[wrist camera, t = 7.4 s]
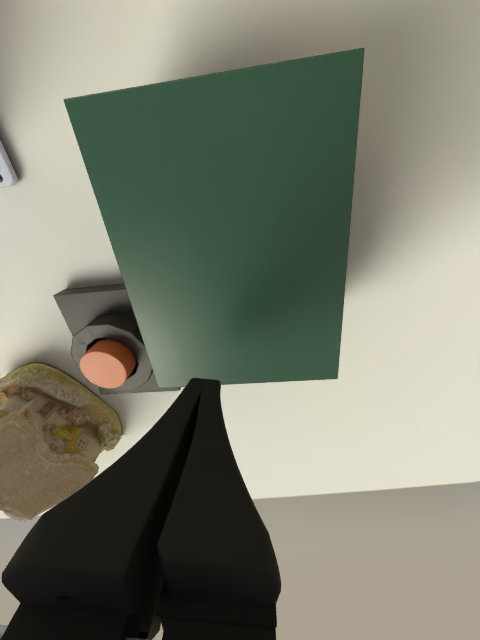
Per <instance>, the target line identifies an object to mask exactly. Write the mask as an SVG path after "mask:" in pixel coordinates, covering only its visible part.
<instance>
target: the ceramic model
mask: <svg viewBox="0 0 480 640" xmlns="http://www.w3.org/2000/svg"><path fill="white" fill-rule="evenodd" d="M121 431H122V427H121V424H120V420H119V418H118V415H117V414H116V412H115V411H114V410H113V409H112V408H110V407H109V406H108V405H107V404H106V403H104V402H103V401H102V400H101V399H100V398H98V397H97V396H96V395H95V394H93V393H92V392H91V391H89V390H88V389H87V388H85V387H84V386H82V385H81V384H80V383H78V382H77V381H76V380H74V379H72V378H71V377H69V376H68V375H66V374H65V373H63V372H61V371H60V370H57V369H55V368H53V367H50V366H48V365H45V364H39V363H32V364H29V365H26V366H23V367H20V368H17V369H15V370H13V371H12V372H10V373H9V374H7V375H6V376H5V377H3V378H1V380H0V510H2V511H3V512H4V513H5V514H6V515H7V516H9V517H11V518H13V519H16V520H19V521H26V520H31V519H33V518H34V517H35V516H37V515H38V514H40V513H42V512H44V511H46V510H48V509H50V508H51V507H54V506H56V505H57V504H59V503H60V502H62V501H63V500H65V499H66V498H68V497H69V496H71V495H72V494H74V493H75V492H77V491H78V490H79V489H81V488H82V487H84V486H85V485H86V484H88V483H89V482H90V481H91V480H93V478H94V476H95V475H96V474H97V473H98V469H99V467H98V465H97V464H95V463H94V462H95V460H96V458H97V457H98V455H99V453H101V452H102V451H103V450H104V449H105V450H107V451H109V450H111V449H114V447H115V446H116V444H117V443H118V442H119V440H120V439H121V437H120V435H121Z"/></svg>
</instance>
